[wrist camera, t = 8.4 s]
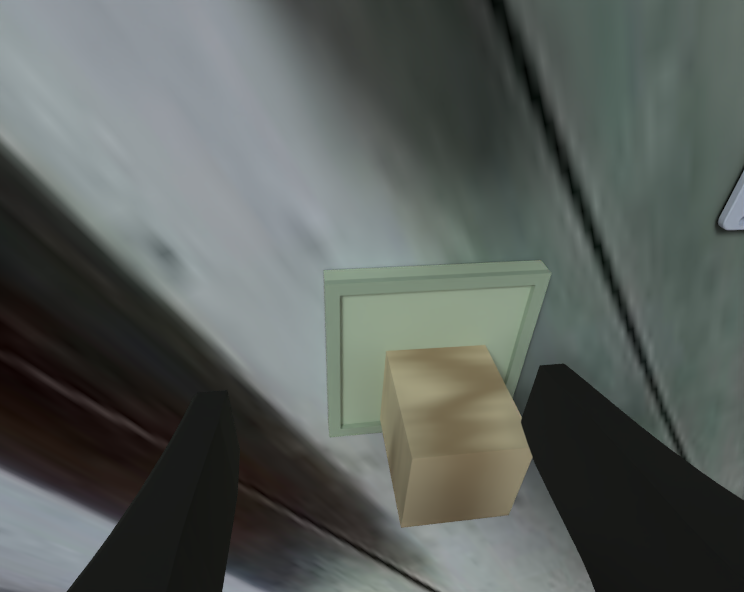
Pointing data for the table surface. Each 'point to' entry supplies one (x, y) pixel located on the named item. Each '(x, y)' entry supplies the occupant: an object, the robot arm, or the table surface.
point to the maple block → (451, 435)
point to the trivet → (421, 325)
